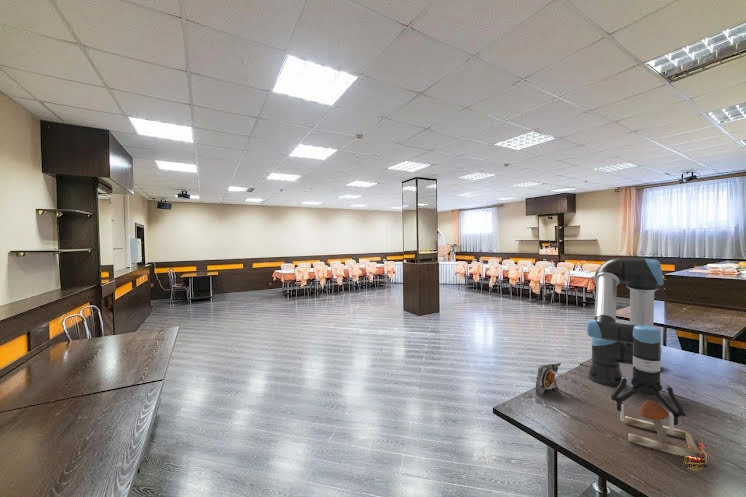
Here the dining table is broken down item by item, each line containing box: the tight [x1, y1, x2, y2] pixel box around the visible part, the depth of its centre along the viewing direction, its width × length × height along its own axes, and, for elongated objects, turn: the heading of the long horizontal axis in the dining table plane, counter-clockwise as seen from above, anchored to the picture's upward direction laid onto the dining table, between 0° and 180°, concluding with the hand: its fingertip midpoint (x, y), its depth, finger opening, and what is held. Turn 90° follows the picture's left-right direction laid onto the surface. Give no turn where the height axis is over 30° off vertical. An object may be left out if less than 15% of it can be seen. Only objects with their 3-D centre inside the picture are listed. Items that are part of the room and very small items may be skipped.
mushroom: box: [639, 399, 671, 445], centre depth 109 cm, size 8×8×15 cm
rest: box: [624, 415, 702, 459], centre depth 109 cm, size 18×14×3 cm
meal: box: [535, 362, 561, 398], centre depth 146 cm, size 15×4×13 cm, turn 122°
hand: (645, 425), depth 111 cm, fingers open, 13 cm apart
